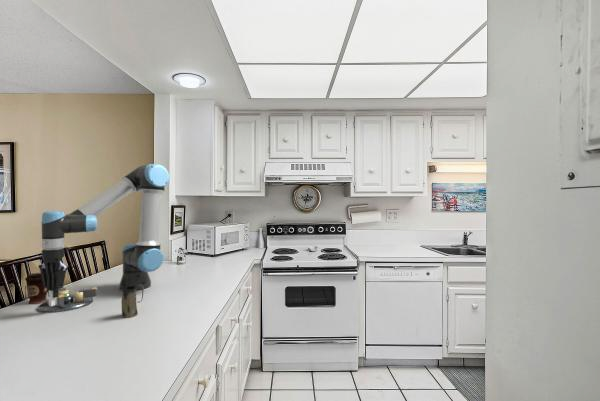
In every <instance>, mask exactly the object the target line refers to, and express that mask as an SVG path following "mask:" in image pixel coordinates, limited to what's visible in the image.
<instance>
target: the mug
mask: <svg viewBox="0 0 600 401" xmlns="http://www.w3.org/2000/svg"><path fill="white" fill-rule="evenodd" d="M137 286H142V289H141V290H142V291H141V292H142V293H141V300H140V301H137V290H136V288H137ZM137 286H136V287H135V286H131V287H125V288H123V290H121V316H122V318H124V319H130V318H134V317H137V316H138V306H137V305H138V304H137V303H142V301H143V298H144V289H143V285H137Z"/></svg>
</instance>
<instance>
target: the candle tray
mask: <svg viewBox="0 0 600 401" xmlns="http://www.w3.org/2000/svg"><path fill="white" fill-rule="evenodd" d="M93 303H94V297H88V298H84V301H81V302H75V295H71V294H70V292H69V293H65V294H64V305H61V306H56V307H51V306H49V300H46V301H45V302H42V303H40V304H39V305H38V307H37V311H38V312H40V313H60V312H61V313H62V312H68V311H69V312H70V311H73V310H77V309H81V308H84V307H87V306H89V305H91V304H93Z"/></svg>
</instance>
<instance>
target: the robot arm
mask: <svg viewBox="0 0 600 401" xmlns="http://www.w3.org/2000/svg"><path fill="white" fill-rule="evenodd" d="M169 180H170V173H169V171H168V170H167V168H166V167H165V166H163V165H162V164H157V163H150V164H145V165H141V166H138V167H136V168H135V169H133V170H132V171H131V172H129V173H128V174H126V175H125V176H123V177H122V178H121V181H119V182H118V183H116V184H114V185H113V186H111V187H110V188H108V189H106V190H105V191H103V192H102V193H100V194H99V195H97V196H96V197H94V198H92V199H91V200H90V201H88V202H86V203H85V204H83V205H82V206H80V207H78V208H77V209H75V210H73V211H72V212H70V213H67V214H65V211H60V210H57V211H56V210H55V211H53V210H52V211H51V210H50V211H44V212H42V215H41V222H40V223H41V224H40V225H41V248H42V250H41V259H43V262H42V264H39V265H38V269H39V271H40V273H41V276H42V281H43V287H44V288H47V294H48V295H47V298H48V301H49V306H54V305H57V304H58V294H59V288H62V287H64V282H65V279H66V274H67V270H68V268H69V266H68V265H65V264H64V261H63V260H64V259H63V258H65V248H64V247H65V246H66V245H65V244H66V243H65V235H66V234H74V233H78V234H79V233H89V232H91V233H92V232H95V231H96V230H97V228H98V218H97V216H99V215H101V214H102V213H103V212H104V211H106V210H108V209H110V208H111V207H112V206H114V205H115V204H117V203H118V202H119V201H121V200H122V199H124V198H126V197H127V196H129V195H130V194H133V193H136V192H138V191H140V192H141V193H142V196H141V208H140V210H141V211H140V224H139V236H138V238H139V239H138V241H137V242H136V243H135V244H134V243H133V244H125V245H123V246H122V251H121V252H122V275H121V278H120V282H119V286H118V287H119V288H118V289H119V290H120V291H122V290H123V288H125V287H131V286H135V287H136V286H137V285H143V290H144V289H147V288H148V289H149V287H151V286H152V280H151V278H150V275H149V273H151V272H155V271H156V270H158V269H159V268H160V267H161V266H162V265H163V263H164V259H165V258H164V254H163V252H162V251H161V243H160V242H159V226H160V215H161V214H160V211H161V199H162V198H161V196H162V194H164V192H165V186H166V185H167V184H168V183H169ZM139 290H142V286H137V288H136V291H139Z"/></svg>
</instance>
